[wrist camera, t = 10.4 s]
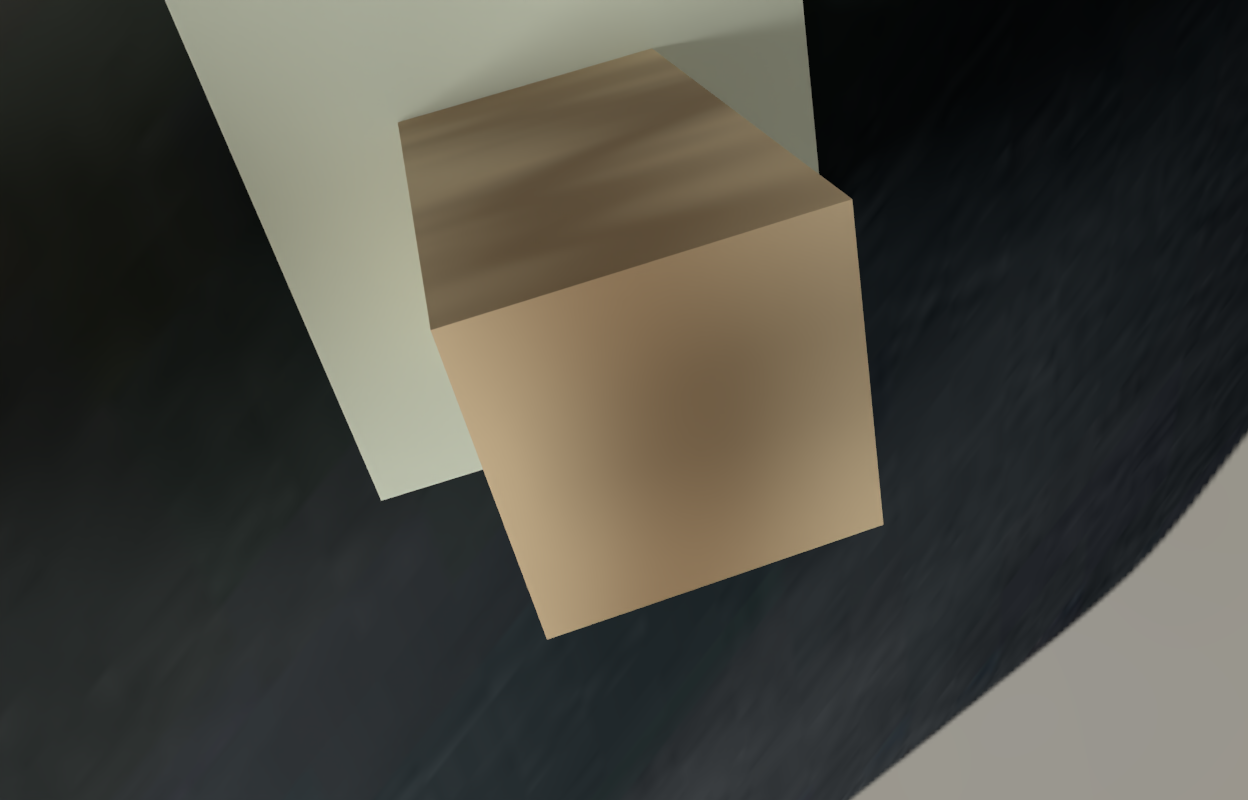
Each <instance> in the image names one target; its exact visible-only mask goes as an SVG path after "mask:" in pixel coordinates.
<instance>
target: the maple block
mask: <svg viewBox="0 0 1248 800" xmlns="http://www.w3.org/2000/svg"><path fill="white" fill-rule="evenodd" d="M398 127H399V134H400V140H401V146H402V153H403V159H404V165H405V172H406V178H407V184H408V191H409V197H410V203H411V210H412V216H413V222H414V229H415V235H416V241H417V247H418V254H419V260H420V266H421V273H422V279H423V285H424V292H425V298H426V304H427V311H428V317H429V323H430V330H431V333H432V335H433V338H434V341H435V343H436V346H437V349H438V351H439V354H440V357H441V359H442V362H443V365H444V367H445V370H446V373H447V375H448V378H449V380H450V383H451V386H452V388H453V391H454V394H455V396H456V399H457V402H458V404H459V407H460V410H461V412H462V415H463V418H464V420H465V423H466V426H467V428H468V431H469V434H470V436H471V439H472V441H473V444H474V447H475V449H476V452H477V455H478V457H479V460H480V463H481V465H482V468H483V471H484V473H485V476H486V479H487V481H488V484H489V487H490V489H491V492H492V495H493V497H494V500H495V502H496V505H497V508H498V510H499V513H500V516H501V518H502V521H503V524H504V526H505V529H506V532H507V534H508V537H509V540H510V542H511V545H512V548H513V550H514V553H515V556H516V558H517V561H518V564H519V566H520V569H521V571H522V574H523V577H524V579H525V582H526V585H527V587H528V590H529V593H530V595H531V598H532V601H533V603H534V606H535V609H536V611H537V614H538V617H539V619H540V622H541V625H542V627H543V630H544V632H545V635H546V638H547V640H548V639H550V638H553V637H556V636H559V635H562V634H565V633H568V632H571V631H574V630H577V629H580V628H583V627H586V626H588V625H591V624H594V623H597V622H600V621H603V620H606V619H609V618H612V617H615V616H618V615H621V614H624V613H626V612H629V611H632V610H635V609H638V608H641V607H644V606H647V605H650V604H653V603H656V602H659V601H662V600H664V599H667V598H670V597H673V596H676V595H679V594H682V593H685V592H688V591H691V590H694V589H697V588H700V587H702V586H705V585H708V584H711V583H714V582H717V581H720V580H723V579H726V578H729V577H732V576H735V575H738V574H740V573H743V572H746V571H749V570H752V569H755V568H758V567H761V566H764V565H767V564H770V563H773V562H776V561H779V560H781V559H784V558H787V557H790V556H793V555H796V554H799V553H802V552H805V551H808V550H811V549H814V548H817V547H819V546H822V545H825V544H828V543H831V542H834V541H837V540H840V539H843V538H846V537H849V536H852V535H855V534H857V533H860V532H863V531H866V530H869V529H872V528H875V527H878V526H881V525H883V515H882V505H881V494H880V484H879V474H878V463H877V453H876V442H875V432H874V421H873V411H872V401H871V390H870V380H869V369H868V359H867V348H866V338H865V328H864V317H863V307H862V296H861V286H860V275H859V265H858V255H857V244H856V234H855V223H854V213H853V202H852V199H851V198H850V197H849V196H847V195H846V194H845V193H843V192H842V191H841V190H839V189H838V188H837V187H835V186H834V185H833V184H831V183H830V182H829V181H827V180H826V179H825V178H823V177H822V176H821V175H819V174H818V173H817V172H815V171H814V170H813V169H811V168H810V167H809V166H807V165H806V164H805V163H803V162H802V161H801V160H799V159H798V158H797V157H796V156H794V155H793V154H792V153H790V152H789V151H788V150H786V149H785V148H784V147H782V146H781V145H780V144H778V143H777V142H776V141H774V140H773V139H772V138H770V137H769V136H768V135H766V134H765V133H764V132H762V131H761V130H760V129H758V128H757V127H756V126H754V125H753V124H752V123H750V122H749V121H748V120H746V119H745V118H744V117H742V116H741V115H740V114H738V113H737V112H736V111H734V110H733V109H732V108H730V107H729V106H728V105H726V104H725V103H724V102H722V101H721V100H720V99H719V98H717V97H716V96H715V95H713V94H712V93H711V92H709V91H708V90H707V89H705V88H704V87H703V86H701V85H700V84H699V83H697V82H696V81H695V80H693V79H692V78H691V77H689V76H688V75H687V74H685V73H684V72H683V71H681V70H680V69H679V68H677V67H676V66H675V65H673V64H672V63H671V62H669V61H668V60H667V59H665V58H664V57H663V56H661V55H660V54H659V53H657V52H656V51H655V50H653V49H652V48H651V49H648V50H645V51H641V52H638V53H634V54H631V55H627V56H624V57H621V58H617V59H614V60H610V61H607V62H603V63H600V64H597V65H593V66H590V67H586V68H583V69H579V70H576V71H573V72H569V73H566V74H562V75H559V76H555V77H552V78H549V79H545V80H542V81H538V82H535V83H531V84H528V85H525V86H521V87H518V88H514V89H511V90H507V91H504V92H501V93H497V94H494V95H490V96H487V97H483V98H480V99H477V100H473V101H470V102H466V103H463V104H459V105H456V106H453V107H449V108H446V109H442V110H439V111H435V112H432V113H429V114H425V115H422V116H418V117H415V118H411V119H408V120H404V121H401V122H398Z"/></svg>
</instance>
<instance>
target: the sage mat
mask: <svg viewBox="0 0 1248 800" xmlns="http://www.w3.org/2000/svg"><path fill="white" fill-rule="evenodd" d="M165 2H166V4H167V6H168V9H169V11H170V13H171V16H172V18H173V20H174V23H175V25H176V27H177V30H178V32H179V34H180V37H181V39H182V41H183V43H184V46H185V48H186V50H187V53H188V55H189V57H190V60H191V62H192V64H193V67H194V69H195V71H196V74H197V76H198V78H199V80H200V83H201V85H202V87H203V90H204V92H205V94H206V97H207V99H208V101H209V104H210V106H211V108H212V110H213V113H214V115H215V117H216V120H217V122H218V124H219V127H220V129H221V131H222V134H223V136H224V138H225V141H226V143H227V145H228V147H229V150H230V152H231V154H232V157H233V159H234V161H235V164H236V166H237V168H238V171H239V173H240V175H241V178H242V180H243V182H244V184H245V187H246V189H247V191H248V194H249V196H250V198H251V201H252V203H253V205H254V208H255V210H256V212H257V215H258V217H259V219H260V221H261V224H262V226H263V228H264V231H265V233H266V235H267V238H268V240H269V242H270V245H271V247H272V249H273V252H274V254H275V256H276V258H277V261H278V263H279V265H280V268H281V270H282V272H283V275H284V277H285V279H286V282H287V284H288V286H289V289H290V291H291V293H292V295H293V298H294V300H295V302H296V305H297V307H298V309H299V312H300V314H301V316H302V319H303V321H304V323H305V325H306V328H307V330H308V332H309V335H310V337H311V339H312V342H313V344H314V346H315V349H316V351H317V353H318V356H319V358H320V360H321V362H322V365H323V367H324V369H325V372H326V374H327V376H328V379H329V381H330V383H331V386H332V388H333V390H334V393H335V395H336V397H337V399H338V402H339V404H340V406H341V409H342V411H343V413H344V416H345V418H346V420H347V423H348V425H349V427H350V430H351V432H352V434H353V436H354V439H355V441H356V443H357V446H358V448H359V450H360V453H361V455H362V457H363V460H364V462H365V464H366V467H367V469H368V471H369V473H370V476H371V478H372V480H373V483H374V485H375V487H376V490H377V492H378V494H379V497H380V499H381V501H382V500H385V499H389V498H392V497H395V496H398V495H402V494H405V493H408V492H411V491H415V490H418V489H421V488H424V487H428V486H431V485H434V484H437V483H441V482H444V481H447V480H450V479H453V478H457V477H460V476H463V475H466V474H470V473H473V472H476V471H479V470H483V468H482V465H481V463H480V460H479V457H478V455H477V452H476V449H475V447H474V444H473V441H472V439H471V436H470V434H469V431H468V428H467V426H466V423H465V420H464V418H463V415H462V412H461V410H460V407H459V404H458V402H457V399H456V396H455V394H454V391H453V388H452V386H451V383H450V380H449V378H448V375H447V373H446V370H445V367H444V365H443V362H442V359H441V357H440V354H439V351H438V349H437V346H436V343H435V341H434V338H433V335H432V333H431V330H430V323H429V317H428V311H427V304H426V298H425V292H424V285H423V279H422V273H421V266H420V260H419V254H418V247H417V241H416V235H415V229H414V222H413V216H412V210H411V203H410V197H409V191H408V184H407V178H406V172H405V165H404V159H403V153H402V146H401V140H400V134H399V127H398V122H401V121H404V120H408V119H411V118H415V117H418V116H422V115H425V114H429V113H432V112H435V111H439V110H442V109H446V108H449V107H453V106H456V105H459V104H463V103H466V102H470V101H473V100H477V99H480V98H483V97H487V96H490V95H494V94H497V93H501V92H504V91H507V90H511V89H514V88H518V87H521V86H525V85H528V84H531V83H535V82H538V81H542V80H545V79H549V78H552V77H555V76H559V75H562V74H566V73H569V72H573V71H576V70H579V69H583V68H586V67H590V66H593V65H597V64H600V63H603V62H607V61H610V60H614V59H617V58H621V57H624V56H627V55H631V54H634V53H638V52H641V51H645V50H648V49H651V48H652V49H653V50H655V51H656V52H657V53H659V54H660V55H661V56H663V57H664V58H665V59H667V60H668V61H669V62H671V63H672V64H673V65H675V66H676V67H677V68H679V69H680V70H681V71H683V72H684V73H685V74H687V75H688V76H689V77H691V78H692V79H693V80H695V81H696V82H697V83H699V84H700V85H701V86H703V87H704V88H705V89H707V90H708V91H709V92H711V93H712V94H713V95H715V96H716V97H717V98H719V99H720V100H721V101H722V102H724V103H725V104H726V105H728V106H729V107H730V108H732V109H733V110H734V111H736V112H737V113H738V114H740V115H741V116H742V117H744V118H745V119H746V120H748V121H749V122H750V123H752V124H753V125H754V126H756V127H757V128H758V129H760V130H761V131H762V132H764V133H765V134H766V135H768V136H769V137H770V138H772V139H773V140H774V141H776V142H777V143H778V144H780V145H781V146H782V147H784V148H785V149H786V150H788V151H789V152H790V153H792V154H793V155H794V156H796V157H797V158H798V159H799V160H801V161H802V162H803V163H805V164H806V165H807V166H809V167H810V168H811V169H813V170H814V171H815V172H817V173H818V174H819V168H818V157H817V147H816V136H815V126H814V115H813V104H812V94H811V83H810V73H809V62H808V52H807V41H806V31H805V20H804V10H803V0H165Z"/></svg>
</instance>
